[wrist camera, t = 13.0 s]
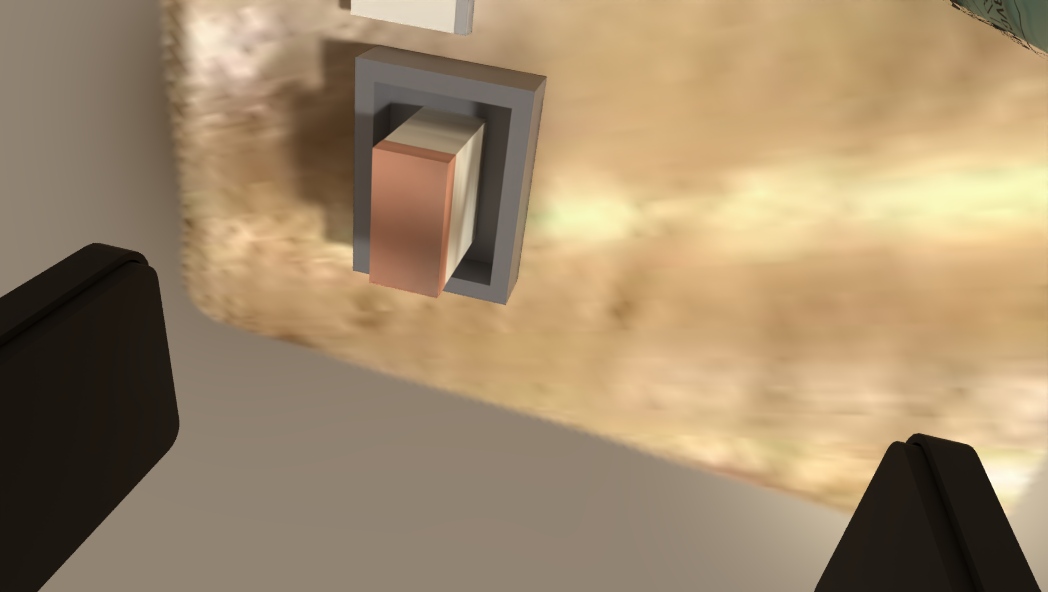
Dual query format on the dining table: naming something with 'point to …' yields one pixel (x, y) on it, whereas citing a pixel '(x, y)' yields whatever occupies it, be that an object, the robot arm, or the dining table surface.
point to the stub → (425, 199)
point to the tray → (511, 139)
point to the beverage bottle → (1014, 18)
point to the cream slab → (420, 13)
